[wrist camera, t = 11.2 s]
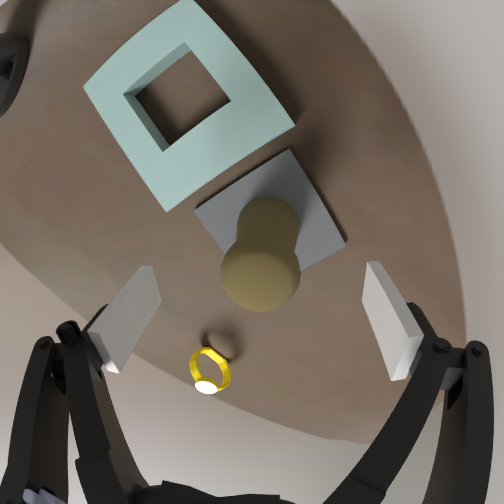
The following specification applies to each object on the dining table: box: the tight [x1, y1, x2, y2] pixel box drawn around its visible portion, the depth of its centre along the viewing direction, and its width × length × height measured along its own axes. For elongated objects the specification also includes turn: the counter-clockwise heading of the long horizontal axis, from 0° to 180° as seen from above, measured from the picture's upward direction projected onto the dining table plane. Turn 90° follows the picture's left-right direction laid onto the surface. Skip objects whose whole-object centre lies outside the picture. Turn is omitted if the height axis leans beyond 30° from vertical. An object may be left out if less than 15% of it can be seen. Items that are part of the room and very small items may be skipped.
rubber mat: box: [194, 149, 346, 270], centre depth 27 cm, size 11×11×1 cm
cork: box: [221, 197, 301, 312], centre depth 21 cm, size 6×6×11 cm
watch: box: [189, 347, 231, 394], centre depth 32 cm, size 6×3×6 cm, turn 43°
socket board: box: [83, 0, 295, 212], centre depth 21 cm, size 17×14×2 cm
